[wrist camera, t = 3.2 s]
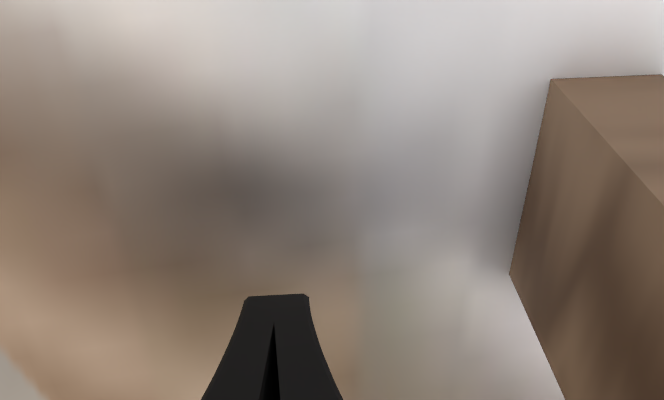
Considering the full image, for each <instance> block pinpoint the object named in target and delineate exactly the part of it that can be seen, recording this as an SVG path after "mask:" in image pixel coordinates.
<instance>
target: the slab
mask: <svg viewBox="0 0 664 400" xmlns="http://www.w3.org/2000/svg"><path fill="white" fill-rule="evenodd" d="M509 275H510V277H511V279H512V282H513V284H514V286H515V288H516V291H517V293H518V295H519V297H520V299H521V302H522V304H523V306H524V308H525V311H526V313H527V315H528V317H529V320H530V322H531V324H532V326H533V329H534V331H535V333H536V335H537V337H538V340H539V342H540V344H541V346H542V349H543V351H544V353H545V355H546V358H547V360H548V362H549V364H550V367H551V369H552V371H553V373H554V375H555V378H556V380H557V382H558V384H559V387H560V389H561V391H562V393H563V396H564V398H565V400H664V76H663V75H638V76H613V77H589V78H565V79H551V81H550V86H549V91H548V95H547V100H546V105H545V109H544V114H543V119H542V123H541V128H540V133H539V137H538V142H537V147H536V151H535V156H534V160H533V165H532V170H531V174H530V179H529V184H528V188H527V193H526V198H525V202H524V207H523V212H522V216H521V221H520V226H519V230H518V235H517V240H516V244H515V249H514V254H513V258H512V263H511V268H510V272H509Z"/></svg>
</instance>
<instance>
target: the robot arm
mask: <svg viewBox="0 0 664 400" xmlns="http://www.w3.org/2000/svg"><path fill="white" fill-rule="evenodd" d="M201 400H343V399H342V396H341V394H340V392H339V390H338V388H337V386H336V384H335V381H334V379H333V377H332V375H331V372H330V370H329V367H328V365H327V362H326V360H325V357H324V355H323V352H322V350H321V347H320V344H319V341H318V338H317V335H316V331H315V328H314V324H313V321H312V316H311V312H310V306H309V297H308V296H306V295H305V294H287V295H268V296H250V297H248V298H247V299H246V300H244V304H243V307H242V311H241V314H240V317H239V320H238V322H237V325H236V328H235V330H234V333H233V335H232V337H231V340H230V342H229V345H228V347H227V349H226V351H225V353H224V355H223V358H222V360H221V362H220V364H219V366H218V368H217V370H216V372H215V374H214V376H213V378H212V380H211V382H210V384H209V386H208V388H207V390H206V391H205V393H204V395H203V397H202V399H201Z"/></svg>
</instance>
